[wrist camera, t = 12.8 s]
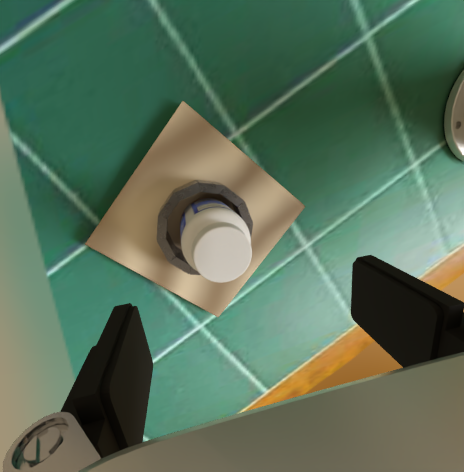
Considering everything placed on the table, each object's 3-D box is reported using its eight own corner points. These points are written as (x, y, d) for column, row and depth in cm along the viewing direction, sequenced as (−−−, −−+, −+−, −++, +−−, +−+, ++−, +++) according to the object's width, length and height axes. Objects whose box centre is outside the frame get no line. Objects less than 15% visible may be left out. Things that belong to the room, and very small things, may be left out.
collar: (259, 214, 26) (269, 220, 24) (211, 276, 27) (215, 290, 25) (193, 162, 24) (195, 162, 21) (141, 234, 24) (137, 243, 22)
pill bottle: (209, 257, 27) (227, 307, 18) (168, 226, 25) (163, 265, 16) (243, 219, 26) (278, 250, 17) (203, 184, 24) (220, 199, 15)
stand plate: (299, 204, 29) (305, 206, 27) (216, 309, 30) (218, 317, 29) (182, 104, 23) (182, 100, 22) (89, 239, 25) (84, 244, 24)
